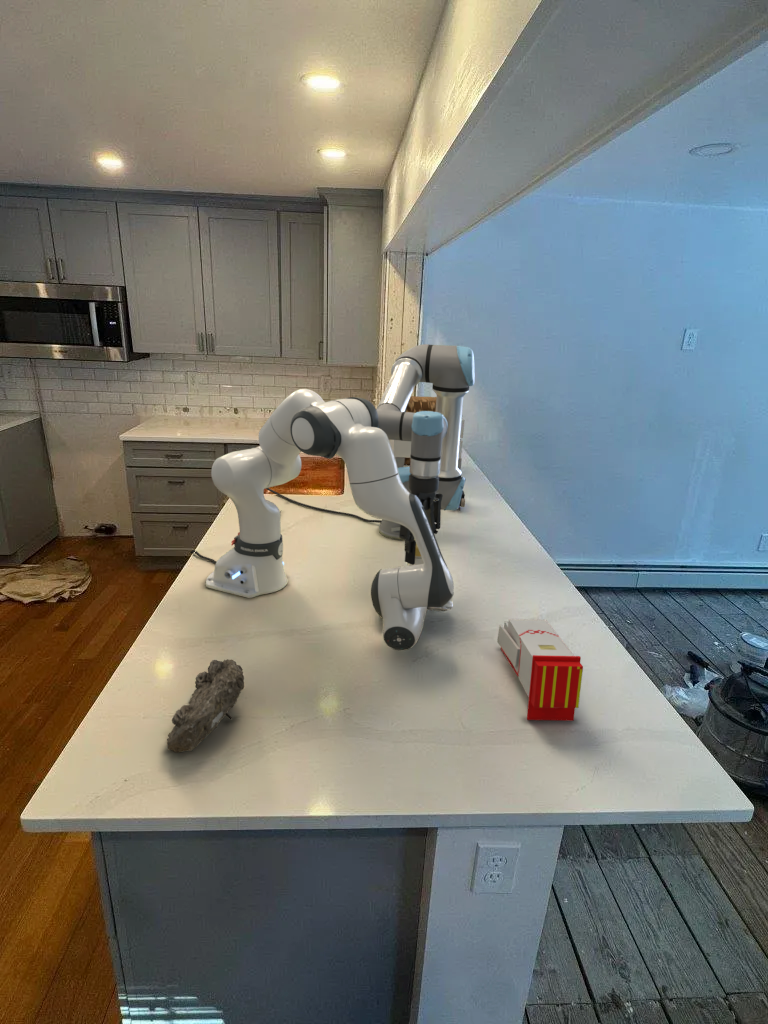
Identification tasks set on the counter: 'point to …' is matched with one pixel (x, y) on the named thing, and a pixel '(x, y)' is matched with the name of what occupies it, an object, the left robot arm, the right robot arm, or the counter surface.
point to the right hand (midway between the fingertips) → (418, 559)
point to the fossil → (206, 705)
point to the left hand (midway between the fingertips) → (417, 580)
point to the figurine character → (462, 501)
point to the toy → (542, 668)
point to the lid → (417, 551)
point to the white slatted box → (404, 447)
